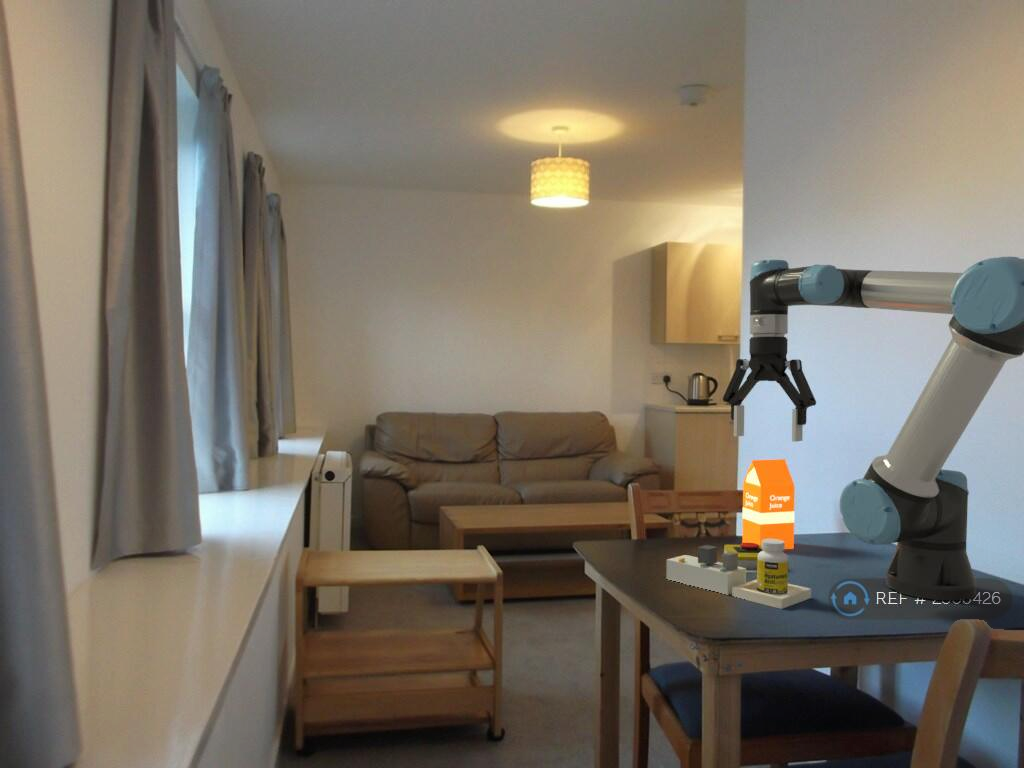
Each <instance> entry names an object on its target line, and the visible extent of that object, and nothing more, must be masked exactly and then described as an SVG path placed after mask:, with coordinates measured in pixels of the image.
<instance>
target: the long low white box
mask: <svg viewBox="0 0 1024 768" xmlns="http://www.w3.org/2000/svg"><path fill="white" fill-rule="evenodd" d="M722 555H723V557H722V562H720V561H717V563H714V564H710V565H706V563H698V556H693V555H689V554H688V555H687V554H683V555H679V556H674V557H672V558H668V559H666V579H668V580H667V581H669V580H672V581H671V582H673V581H676V582H675V583H677V582H680V583H679V584H681V583H683V584H682V585H685V584H686V586H689V585H691V586H690V587H693V586H695V587H694V588H697V587H699V588H698V589H701V588H703V589H702V590H705V589H707V590H706V591H709V590H711V591H710V592H712V591H715V592H714V593H716V592H719V593H718V594H720V593H722V595H724V594H726V595H725V596H730V595H732V587H735V586H738V585H741V584H744V583H747V573H746V568H743V567H738V553H736V552H728V553H724V552H723V553H722ZM729 594H730V595H729Z"/></svg>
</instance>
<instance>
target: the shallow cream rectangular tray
mask: <svg viewBox="0 0 1024 768" xmlns="http://www.w3.org/2000/svg"><path fill="white" fill-rule="evenodd" d="M732 596H734V597H733V598H736V597H737V599H740V598H741V599H740V600H744V599H745V600H744V601H749V602H752V603H756V604H761V605H764V606H768V607H772V608H776V609H781V610H782V609H785V608H788V607H791V606H794V605H796V604H799V603H802V602H805V601H806V600H810V599H812V588H809V587H806V586H800V585H796V584H793V583H788V590H787V594H785V595H782V596H775V595H771V594H767V593H763V592H759V591H757V579H754V580H751V581H746V583H744V584H741V585H738V586H735V587H732V594H731V597H732Z"/></svg>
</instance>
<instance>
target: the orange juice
mask: <svg viewBox="0 0 1024 768" xmlns="http://www.w3.org/2000/svg"><path fill="white" fill-rule="evenodd" d="M795 488H796V487H795V484H794V480H793V477H792V475H791V472H790V469H789V467H788V463H787V461H786V459H784V458H783V459H782V458H780V459H779V458H778V459H755V460H753V459H752V461H751V463H750V465H749V467H748V470H747V472H746V475H745V477H744V479H743V482H742V542H741V543H756V544H758V545H762V540H763V539H778V540H782V541H784V542H785V548H784V549H785V550H794V548H795V545H794V543H795V490H796V489H795Z"/></svg>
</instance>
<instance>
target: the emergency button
mask: <svg viewBox="0 0 1024 768" xmlns="http://www.w3.org/2000/svg"><path fill="white" fill-rule="evenodd" d="M723 549H724V550H723V554H724V553H728V552H736V553H738V567H743V568H746V574H757V557H758V553H759V552H761V551H763V549H762V545H758V544H756V543H742V542H741V543H740V544H724V547H723ZM723 554H721V556H722V558H723Z"/></svg>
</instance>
